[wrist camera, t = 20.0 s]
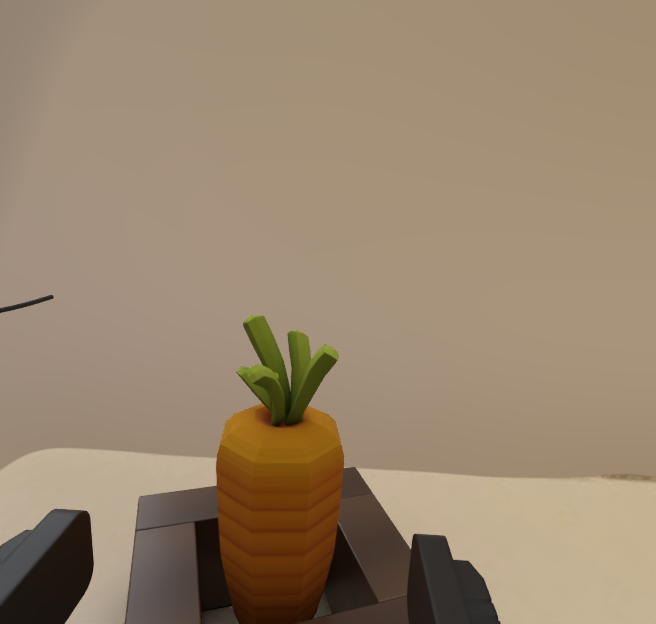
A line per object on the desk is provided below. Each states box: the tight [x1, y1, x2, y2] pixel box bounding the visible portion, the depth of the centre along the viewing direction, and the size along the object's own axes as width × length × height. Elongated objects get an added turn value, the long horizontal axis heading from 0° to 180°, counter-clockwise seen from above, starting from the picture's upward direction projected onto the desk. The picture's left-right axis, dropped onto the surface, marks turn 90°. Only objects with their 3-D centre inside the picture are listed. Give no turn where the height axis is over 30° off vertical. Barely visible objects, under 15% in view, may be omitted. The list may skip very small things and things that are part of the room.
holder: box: [125, 467, 411, 624], centre depth 19 cm, size 11×11×5 cm
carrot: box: [216, 315, 344, 624], centre depth 18 cm, size 5×5×15 cm
